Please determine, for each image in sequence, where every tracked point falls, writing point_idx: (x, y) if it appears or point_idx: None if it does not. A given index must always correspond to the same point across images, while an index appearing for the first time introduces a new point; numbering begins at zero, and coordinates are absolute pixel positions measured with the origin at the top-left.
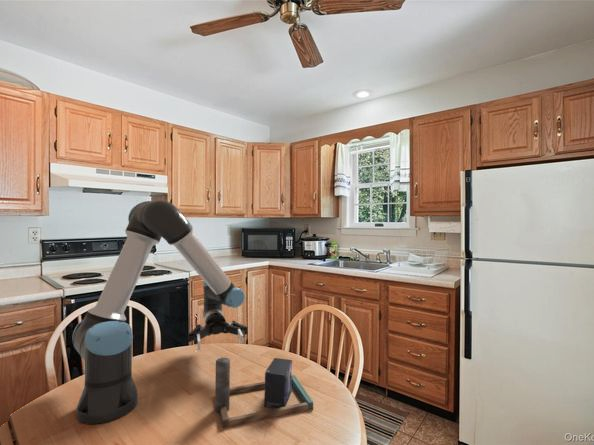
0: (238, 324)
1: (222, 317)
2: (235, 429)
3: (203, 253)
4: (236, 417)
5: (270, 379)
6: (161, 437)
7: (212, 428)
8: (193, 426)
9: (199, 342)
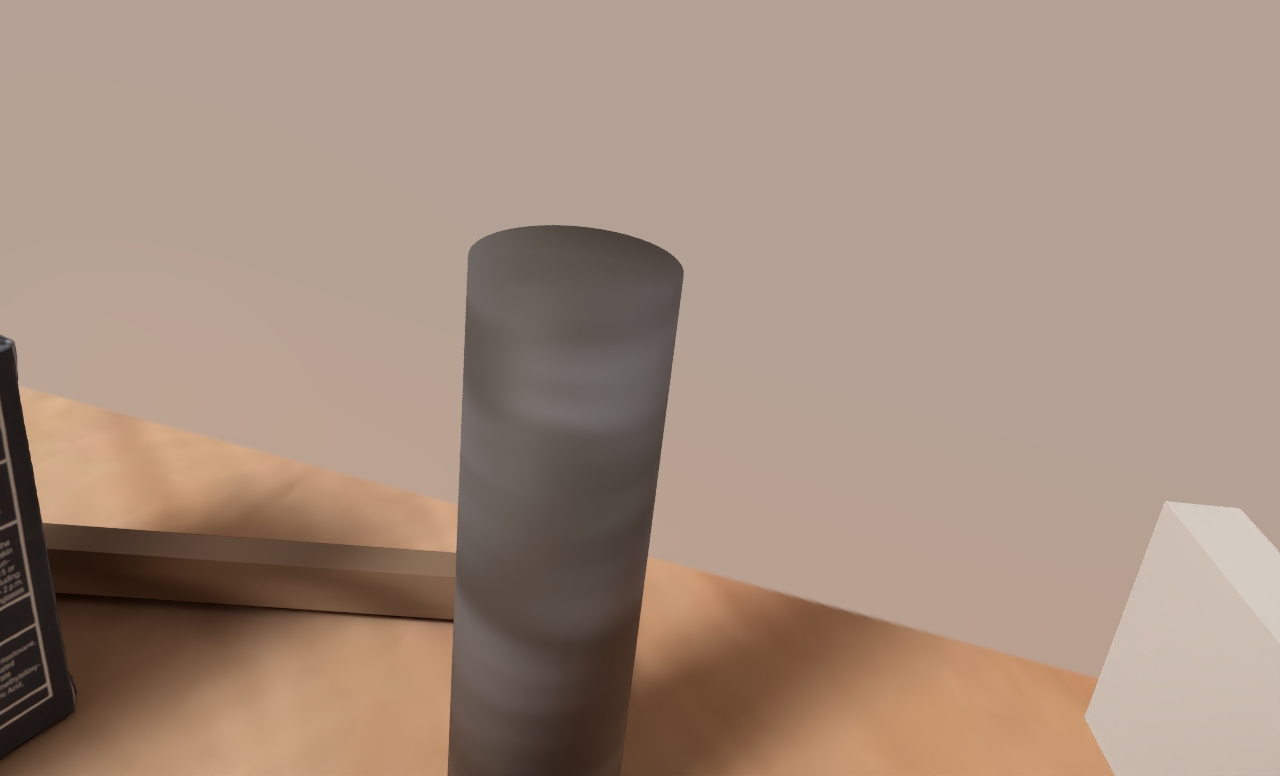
0: None
1: None
2: None
3: None
4: (449, 567)
5: None
6: (1068, 684)
7: (655, 641)
8: (824, 709)
9: (1178, 537)
